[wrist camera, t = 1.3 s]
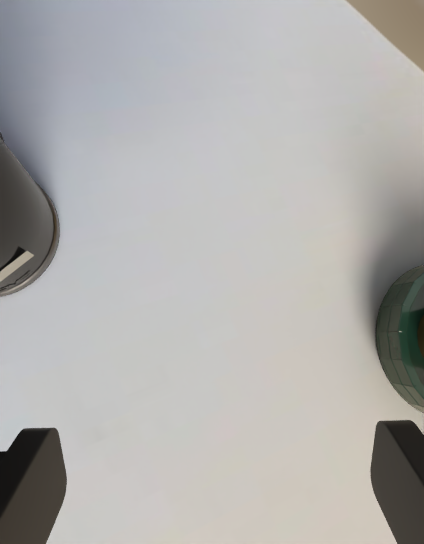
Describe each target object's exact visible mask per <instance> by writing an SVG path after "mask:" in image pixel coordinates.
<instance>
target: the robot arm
mask: <svg viewBox="0 0 424 544" xmlns="http://www.w3.org/2000/svg"><path fill="white" fill-rule="evenodd" d="M59 236H60V227H59V220H58V215H57V212H56V210H55V207H54V205H53V203H52V201H51V200H50V198H49V197H48V195H47V194H46V193H45V192H44V190H43V189H42V188H41V187H40V186H39V185H38V184H37V183H36V182H35V181H34V180H33V179H32V177H31V176H30V175H29V173H28V172H27V171H26V170H25V168H24V167H23V166H22V165H21V163H20V162H19V161H18V160H17V158H16V157H15V156H14V155H13V153H12V152H11V151H10V150H9V148H8V147H7V146H6V145H5V143H4V140H3V137H2V134H1V133H0V297H2V296H6V295H10V294H13V293H15V292H18V291H20V290H22V289H23V288H25V287H27V286H28V285H30V284H31V283H33V282H34V281H35V280H36V279H37V278H39V277H40V276H41V275H42V273H43V272H44V271H45V270H46V269H47V267H48V266H49V264H50V263H51V261H52V259H53V257H54V255H55V253H56V250H57V247H58V243H59ZM371 482H372V487H373V491H374V494H375V496H376V499H377V501H378V503H379V505H380V507H381V510H382V512H383V514H384V516H385V518H386V520H387V522H388V525H389V527H390V529H391V531H392V533H393V535H394V537H395V539H396V542H397V544H424V435H423V434H422V432H421V431H420V430H419V428H418V427H417V426H416V424H415V423H414V422H413V421H411V420H398V421H379V422H378V423H377V425H376V431H375V438H374V446H373V454H372V462H371ZM66 484H67V477H66V470H65V465H64V460H63V454H62V449H61V443H60V438H59V433H58V431H57V429H56V428H26V429H23V430H22V431H21V432H20V433H19V434H18V436H17V437H16V439H15V440H14V442H13V443H12V445H11V446H10V448H9V449H8V451H4V452H0V544H46V542H47V540H48V537H49V535H50V533H51V530H52V528H53V525H54V523H55V521H56V518H57V516H58V513H59V511H60V508H61V506H62V503H63V500H64V497H65V492H66Z"/></svg>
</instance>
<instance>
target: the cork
mask: <svg viewBox="0 0 424 544" xmlns="http://www.w3.org/2000/svg"><path fill="white" fill-rule="evenodd" d="M417 335H418V346H419V349H420V351H421V354H422V357H423V358H424V315H423V317H422V318H421V320H420V323H419V327H418V331H417Z"/></svg>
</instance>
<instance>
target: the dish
mask: <svg viewBox="0 0 424 544" xmlns="http://www.w3.org/2000/svg"><path fill="white" fill-rule="evenodd" d="M423 315H424V265H422V266H419V267H416V268H414V269H412V270H410V271H408V272H407V273H405V274H404V275H402V276H401V277H400V278H399V279H398V280H397V281H396V282H395V283H394V284H393V285H392V286H391V288H390V289H389V290H388V292H387V294H386V295H385V297H384V299H383V301H382V304H381V306H380V309H379V313H378V317H377V324H376V342H377V350H378V354H379V358H380V361H381V364H382V367H383V370H384V372H385V374H386V376H387V378H388V379H389V381H390V383H391V384H392V386H393V387H394V389H395V390H396V391H397V392H398V393H399V394H400V396H401V397H402V398H403V399H404V400H405V401H407V402H408V403H409V404H410V405H411V406H413V407H414V408H416V409H417V410H419V411H421V412H422V413H424V358H423V357H422V354H421V351H420V349H419V346H418V335H417V331H418V327H419V323H420V320H421V318H422V317H423Z"/></svg>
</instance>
